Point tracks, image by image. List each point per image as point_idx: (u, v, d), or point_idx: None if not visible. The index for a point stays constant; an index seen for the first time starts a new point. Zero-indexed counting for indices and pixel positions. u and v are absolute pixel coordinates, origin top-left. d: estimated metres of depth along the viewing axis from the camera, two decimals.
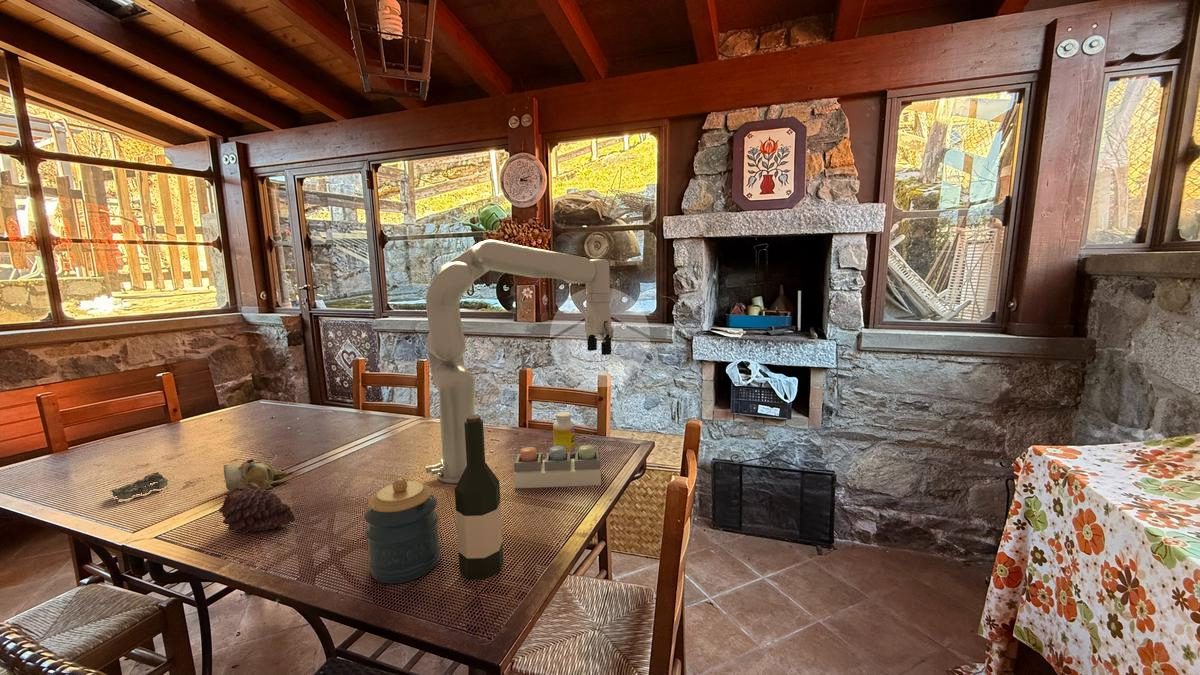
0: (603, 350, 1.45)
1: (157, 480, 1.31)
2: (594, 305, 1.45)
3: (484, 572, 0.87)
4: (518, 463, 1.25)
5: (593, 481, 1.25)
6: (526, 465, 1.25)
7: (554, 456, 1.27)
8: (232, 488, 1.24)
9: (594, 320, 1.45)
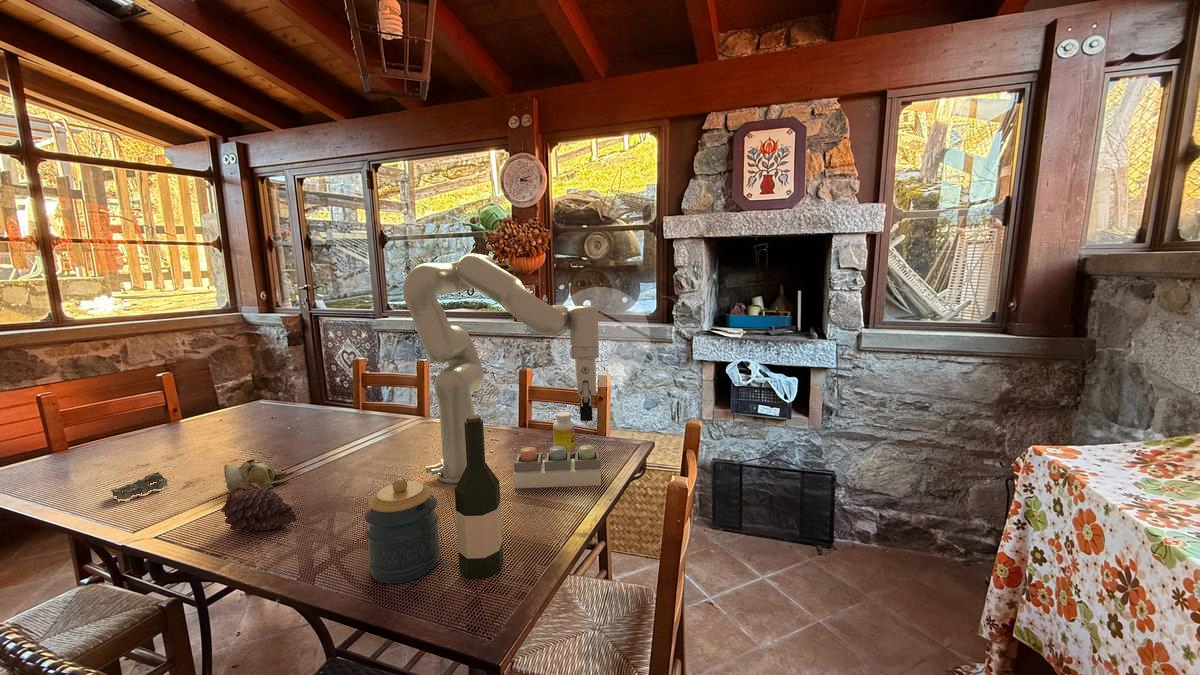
0: None
1: (157, 480, 1.31)
2: None
3: (484, 572, 0.87)
4: (518, 463, 1.25)
5: (593, 481, 1.25)
6: (526, 465, 1.25)
7: (554, 456, 1.27)
8: (233, 488, 1.24)
9: None
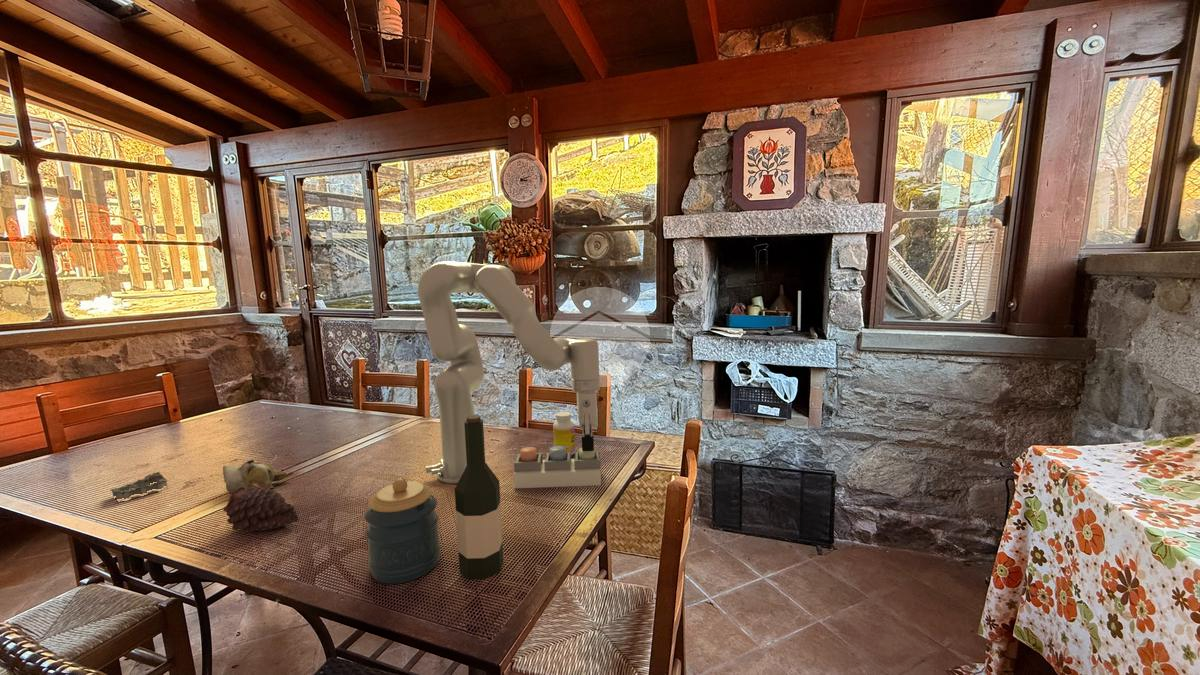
0: None
1: (158, 480, 1.31)
2: None
3: (484, 572, 0.87)
4: (518, 463, 1.25)
5: (593, 481, 1.25)
6: (526, 465, 1.25)
7: (554, 456, 1.27)
8: (232, 489, 1.24)
9: None
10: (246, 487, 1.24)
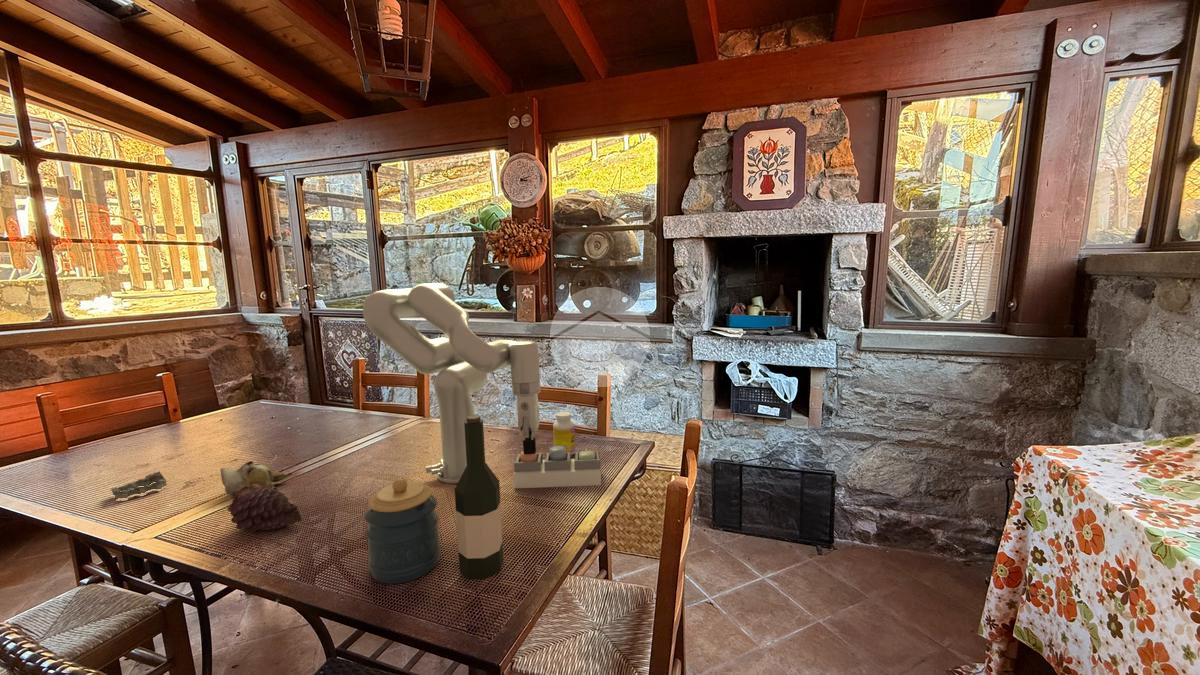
0: None
1: (158, 480, 1.31)
2: None
3: (484, 572, 0.87)
4: (518, 463, 1.25)
5: (593, 481, 1.25)
6: (526, 465, 1.25)
7: (554, 456, 1.27)
8: (231, 491, 1.23)
9: (538, 407, 1.29)
10: None
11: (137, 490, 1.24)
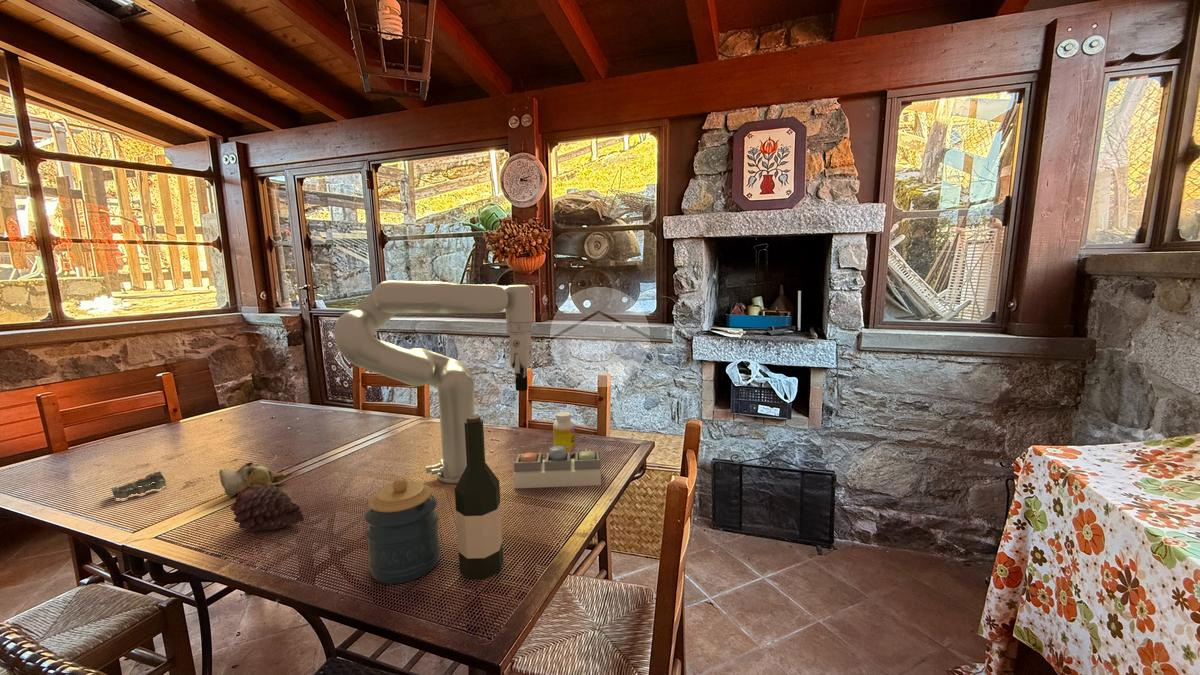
0: None
1: (159, 480, 1.31)
2: None
3: (484, 573, 0.87)
4: (518, 463, 1.25)
5: (593, 481, 1.25)
6: (526, 465, 1.25)
7: (554, 456, 1.27)
8: (231, 493, 1.22)
9: (531, 348, 1.39)
10: None
11: (136, 490, 1.24)
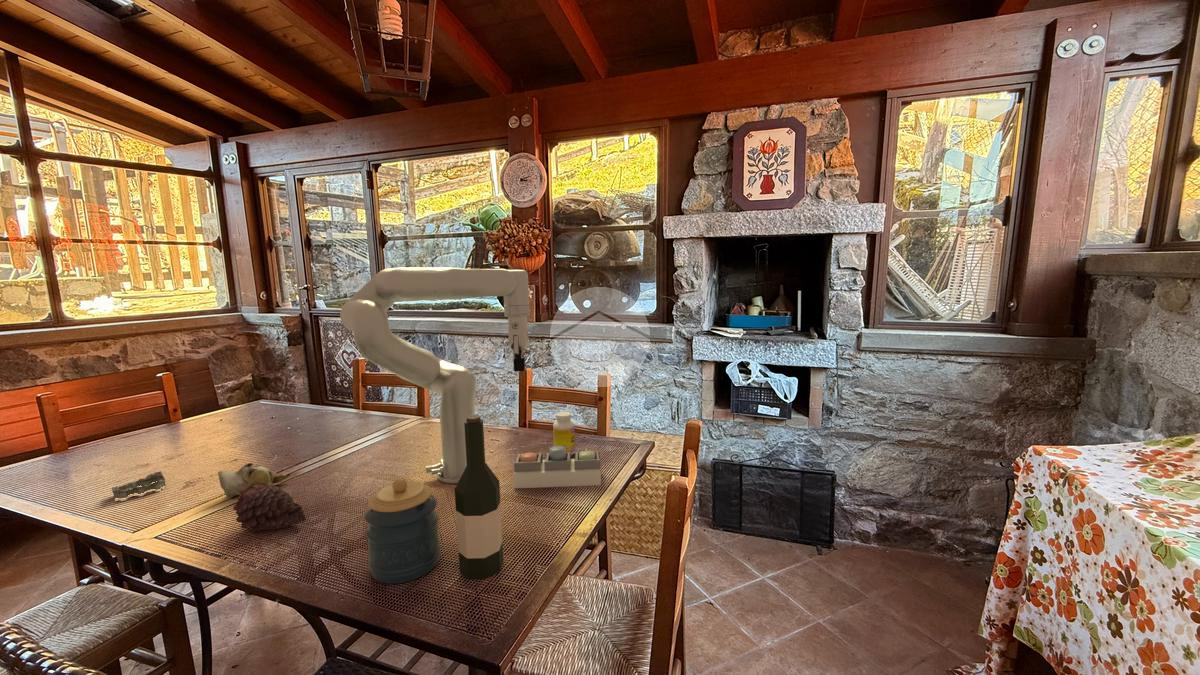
0: None
1: (159, 479, 1.31)
2: (526, 316, 1.44)
3: (484, 572, 0.87)
4: (518, 463, 1.25)
5: (593, 481, 1.25)
6: (526, 465, 1.25)
7: (554, 456, 1.27)
8: (231, 494, 1.21)
9: None
10: None
11: (136, 490, 1.24)
